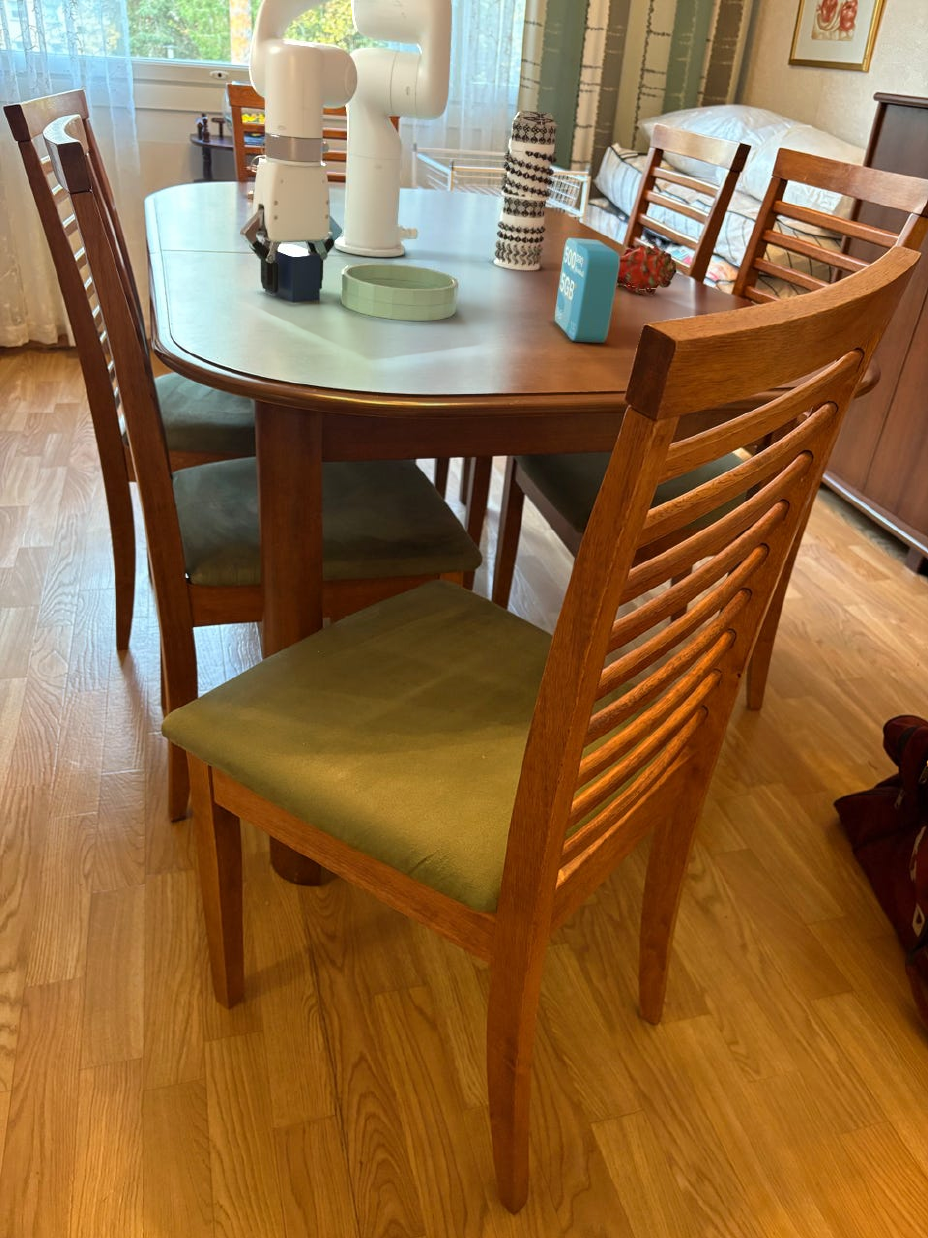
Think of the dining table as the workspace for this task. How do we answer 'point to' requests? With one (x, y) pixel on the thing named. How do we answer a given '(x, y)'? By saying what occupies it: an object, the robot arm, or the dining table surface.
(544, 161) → the decorative candle
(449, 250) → the dining table surface
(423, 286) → the bowl
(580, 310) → the data package
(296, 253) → the navy blue block
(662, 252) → the dragon fruit
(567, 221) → the dining table surface
